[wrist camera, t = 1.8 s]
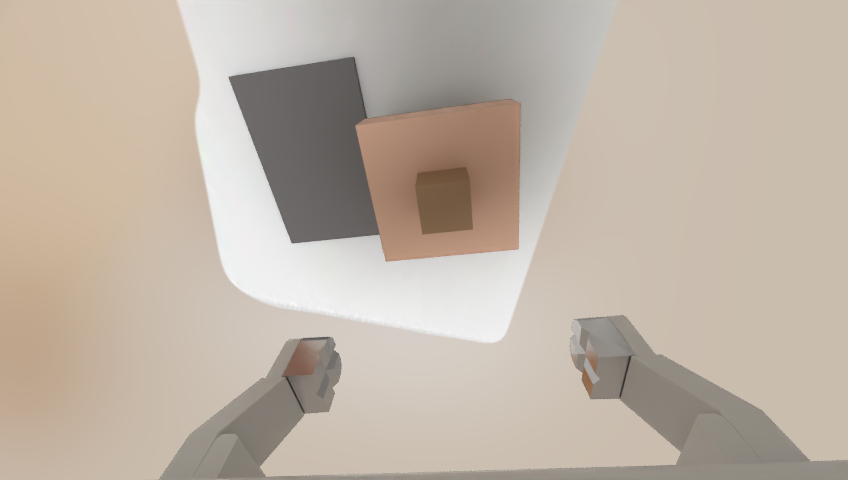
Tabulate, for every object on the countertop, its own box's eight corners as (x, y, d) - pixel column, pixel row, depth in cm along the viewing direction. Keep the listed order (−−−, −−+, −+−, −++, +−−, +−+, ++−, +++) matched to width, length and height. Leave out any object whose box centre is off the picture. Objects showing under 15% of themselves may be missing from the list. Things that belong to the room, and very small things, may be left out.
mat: (232, 76, 30) (228, 76, 29) (353, 57, 29) (352, 57, 28) (293, 240, 38) (291, 243, 38) (389, 231, 37) (389, 233, 37)
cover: (365, 118, 24) (343, 133, 19) (509, 98, 23) (532, 108, 18) (390, 242, 29) (380, 282, 24) (510, 230, 28) (527, 270, 23)
